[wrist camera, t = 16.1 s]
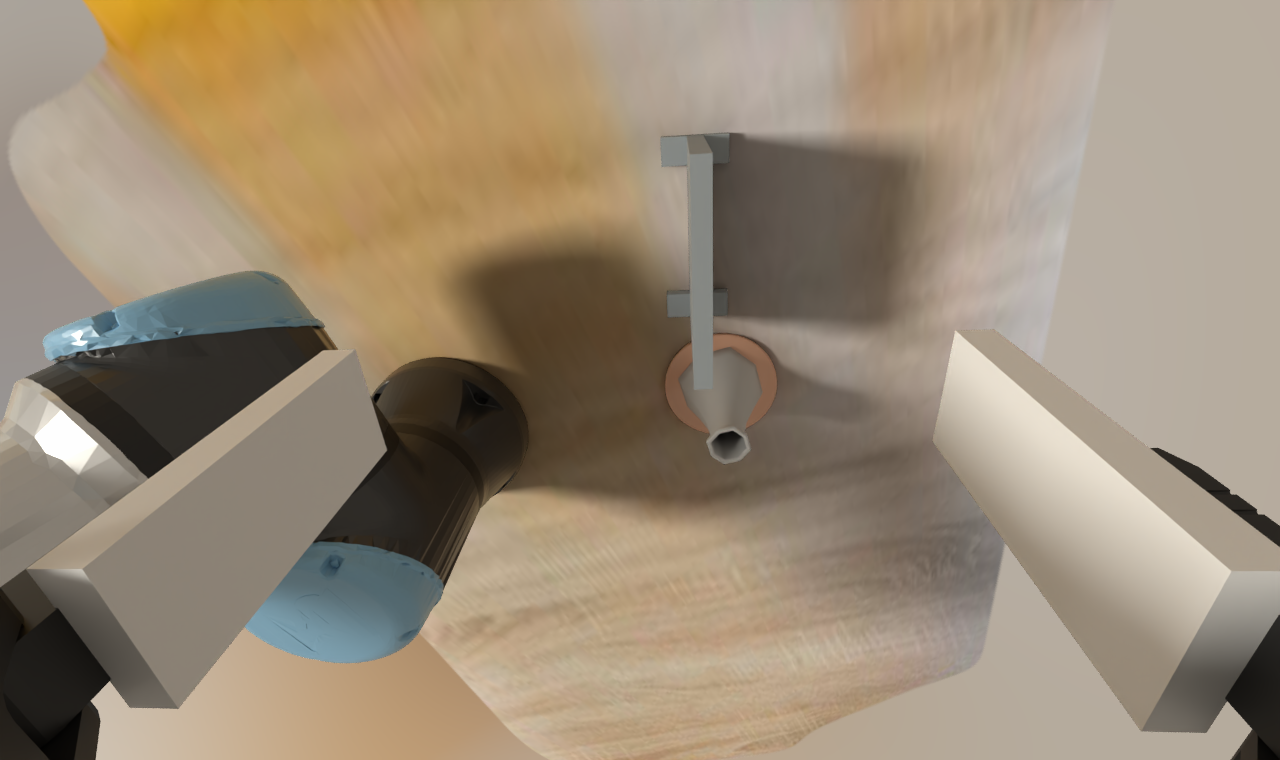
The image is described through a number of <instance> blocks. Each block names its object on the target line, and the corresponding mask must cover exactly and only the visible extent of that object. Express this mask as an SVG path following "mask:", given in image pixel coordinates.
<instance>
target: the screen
mask: <svg viewBox="0 0 1280 760" xmlns="http://www.w3.org/2000/svg"><path fill="white" fill-rule="evenodd" d="M729 136H730V134H729V133H714V134H697V135H681V136H664V137H661V161H662V167H665V166H683V165H687V187H688V235H689V283H690V290H679V291H667V312H668V317H690V320H691V340H692V359H693V379H694V390H699V389H713V316H724V315H728V291H727V289H713V164H719V163H729Z"/></svg>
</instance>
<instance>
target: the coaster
mask: <svg viewBox="0 0 1280 760" xmlns="http://www.w3.org/2000/svg"><path fill="white" fill-rule="evenodd" d="M727 347H731V348H732V349H734V350H735V351H737V352H738V353H740V354H741V355H742V356H744V357H745V358H747V359H748V360H750V361H751V362H753V363H754V364H755V365H756V368H757V372H758V376H759V380H760V384H761V388H762V391H763V393H762V395H761V397H760V398H759V400H758V402H757V404H756V405H755V407H754V409H753V411H752V413H751V415H750V417H749V419H748V421H747V423H746V428H748V427H749V426H751V425H753V424H754V423H756V422H757V421H759V420H760V419H761V418H762V417H763V416H764V415H765V414H766V412H767V411H768V410H769V408H770V407H771V405H772V403H773V401H774V399H775V395H776V391H777V376H776V372H775V369H774V366H773V363H772V361H771V359H770V357H769V356H768V355H767V353H766V352H765V351H764V350H763V349H762V348H761V347H760V346H759V345H758V344H756V343H755V342H753V341H751V340H750V339H747V338H745V337H743V336H739V335H736V334H729V333H717V334H713V351H716V350H719V349H723V348H727ZM692 362H693V359H692V341H691V342H690V343H688V344H687V345H685V346H684V347H683V348H682V349H681V350H680V351H679V352H678V353H677V354H676V355H675V357H674V358H673V359H672V361H671V363H670V365H669V367H668V370H667V374H666V380H665V391H666V397H667V401H668V403H669V405H670V407H671V409H672V411H673V412H674V413H675V415H676V416H677V417H678V418H679V419H680V420H681V421H682V422H684V423H685V424H687V425H688V426H690V427H692V428H693V429H696V430H698V431H702V432H705V433H709V430H708V429H707V427H706V426H705V425H704V424H703V423H702V421H701V420H700V419H699V418H698V417H697V416H696V415H695V414H694V413H693V412H692V411H691V410H690V409H689V407H688V406H687V404H686V401H685V398H684V395H683V392H682V389H681V386H680V383H679V380H678V378H679V377H680V376H681V375H682V373H683V372H684V371H685V370H686V369H687V367H688V366H689V365H690V364H691V363H692Z"/></svg>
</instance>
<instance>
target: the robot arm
mask: <svg viewBox="0 0 1280 760" xmlns="http://www.w3.org/2000/svg"><path fill="white" fill-rule="evenodd" d="M324 327H325V326H324V324H323V323H322V322H321V321H320V320H318V319H315V318H314V316H313V315H312V314H311V313H310V311H309V310H308V309H307V308H306V306H305V305H304V304H303V302H302V301H301V300H300V299H299V297H298V296H297V295H296V293H295V292H294V291H293V290H292V288H291V287H290V286H289V285H288V284H287V283H286V282H285V281H284V280H283V279H281V278H280V277H278V276H276V275H274V274H271V273H267V272H263V271H245V272H238V273H233V274H229V275H224V276H220V277H216V278H212V279H208V280H204V281H200V282H196V283H193V284H189V285H185V286H182V287H178V288H175V289H171V290H168V291H165V292H161V293H158V294H155V295H152V296H148V297H145V298H142V299H139V300H136V301H133V302H130V303H127V304H124V305H121V306H118V307H117V308H115V309H114V310H110V311H105V312H102V313H100V314H97V315H95V316H91V317H87V318H84V319H80V320H77V321H75V322H72V323H70V324H67V325H65V326H63V327H60V328H58V329H56V330H54V331H52V332H50V333H49V334H48V335H46V336H45V338H44V340H43V345H44V348H45V356H46V357H47V358H48V359H49V360H50V361H52V360H53V361H54V362H57V363H56V364H54V365H52V366H50V367H48V368H46V369H43V370H41V371H39V372H37V373H34V374H32V375H30V376H28V377H26V378H23V379H21V380H19V381H17V382H15V384H14V387H13V391H12V394H11V397H10V400H9V404H8V407H7V410H6V414H5V417H4V418H3V420H2V421H1V422H0V760H95V759H96V751H97V744H98V735H99V728H100V718H99V713H98V710H97V709H96V707H95V706H94V705H93V704H92V702H91V700H92V698H94V697H95V696H96V694H97V693H98V692H99V691H100V690H101V689H102V688H103V687H104V686H105V685H106V684H107V683H108V682H109V681H110V682H111V683H112V684H113V686H114V687H115V688H116V690H117V691H118V692H119V694H120V695H121V696H122V698H123V699H124V700H125V702H126V703H127V704H128V706H129V707H131V708H173V709H178V708H179V707H180V706H181V705H182V704H183V702H184V701H185V700H186V699H187V697H188V696H189V695H190V693H191V692H192V691H193V690H194V689H195V687H196V686H197V685H198V684H199V682H200V681H201V680H202V679H203V677H204V676H205V675H206V674H207V673H208V671H209V670H210V669H211V668H212V666H213V665H214V664H215V663H216V661H217V660H218V659H219V658H220V656H221V655H222V654H223V653H224V651H225V650H226V649H227V648H228V647H229V645H230V644H231V643H232V642H233V640H234V639H235V638H236V637H237V635H238V634H239V633H240V632H241V630H242V629H243V628H244V627H245V628H246V629H247V630H249V631H250V632H251V633H252V634H254V635H255V636H256V637H258V638H260V639H261V640H263V641H264V642H266V643H268V644H270V645H272V646H274V647H276V648H278V649H281V650H283V651H286V652H288V653H291V654H294V655H297V656H301V657H304V658H309V659H316V660H320V661H325V662H333V663H357V662H366V661H372V660H376V659H380V658H383V657H386V656H388V655H391V654H393V653H395V652H397V651H399V650H400V649H402V648H403V647H405V646H406V645H408V644H409V643H410V642H411V641H412V640H413V639H414V638H415V637H416V636H417V634H418V633H419V632H420V630H421V628H422V626H423V625H424V623H425V621H426V619H427V618H428V616H429V614H430V612H431V610H432V609H433V607H434V606H435V605H436V604H437V603H438V602H439V600H440V599H441V596H442V593H443V590H444V588H445V585H446V583H447V581H448V579H449V576H450V574H451V572H452V570H453V567H454V565H455V563H456V561H457V559H458V556H459V554H460V552H461V550H462V547H463V545H464V543H465V541H466V539H467V536H468V534H469V532H470V530H471V527H472V525H473V523H474V521H475V518H476V516H477V514H478V512H479V510H480V508H481V507H482V506H483V505H484V504H485V503H486V502H487V501H488V500H489V499H490V498H491V497H492V496H494V495H496V494H497V493H499V492H500V491H501V490H503V489H504V488H505V487H506V486H507V485H508V484H509V483H510V482H511V481H512V479H513V478H514V477H515V475H516V474H517V472H518V470H519V468H520V466H521V463H522V461H523V459H524V456H525V454H526V451H527V446H528V426H527V422H526V418H525V415H524V413H523V411H522V408H521V406H520V405H519V403H518V401H517V400H516V398H515V397H514V396H513V394H512V393H511V392H510V391H509V390H508V389H507V388H506V387H505V386H504V385H503V384H502V383H501V382H500V381H499V380H498V379H496V378H495V377H494V376H492V375H491V374H489V373H488V372H486V371H484V370H482V369H480V368H478V367H476V366H474V365H471V364H469V363H466V362H462V361H459V360H454V359H448V358H426V359H421V360H416V361H413V362H410V363H408V364H405V365H403V366H401V367H400V368H398V369H397V370H395V371H394V372H393V373H392V374H391V375H389V376H388V377H387V378H386V379H385V380H384V381H383V382H382V383H381V384H380V386H379V387H378V388H377V389H376V390H375V392H374V393H373V395H372V396H370V394H369V391H368V388H367V385H366V382H365V379H364V375H363V372H362V369H361V366H360V363H359V360H358V356H357V353H356V350H355V349H352V350H338V349H337V347H336V346H335V344H334V343H333V341H332V340H331V339H330V337H329V336H328V334H327V333H326V331H325V330H324ZM932 442H933V443H934V444H935V446H936V447H937V449H938V450H939V451H940V453H941V454H942V455H943V457H944V458H945V460H946V461H947V462H948V464H949V465H950V467H951V468H952V469H953V471H954V472H955V474H956V475H957V476H958V478H959V479H960V480H961V482H962V483H963V485H964V486H965V487H966V489H967V490H968V492H969V493H970V494H971V496H972V497H973V499H974V500H975V501H976V503H977V504H978V505H979V507H980V508H981V510H982V511H983V512H984V514H985V515H986V517H987V518H988V519H989V521H990V522H991V523H992V525H993V526H994V528H995V529H996V530H997V532H998V533H999V535H1000V536H1001V537H1002V539H1003V540H1004V542H1005V543H1006V544H1007V546H1008V547H1009V548H1010V550H1011V551H1012V553H1013V554H1014V555H1015V557H1016V558H1017V560H1018V561H1019V562H1020V564H1021V565H1022V566H1023V568H1024V569H1025V570H1026V572H1027V573H1028V575H1029V576H1030V577H1031V579H1032V580H1033V581H1034V583H1035V585H1036V586H1037V587H1038V589H1039V590H1040V592H1041V593H1042V594H1043V596H1044V597H1045V598H1046V600H1047V601H1048V603H1049V604H1050V605H1051V607H1052V608H1053V610H1054V611H1055V612H1056V614H1057V615H1058V616H1059V618H1060V619H1061V620H1062V622H1063V623H1064V625H1065V626H1066V628H1067V629H1068V630H1069V632H1070V633H1071V635H1072V636H1073V637H1074V639H1075V640H1076V641H1077V643H1078V644H1079V645H1080V647H1081V648H1082V650H1083V651H1084V653H1085V654H1086V655H1087V657H1088V658H1089V660H1090V661H1091V662H1092V664H1093V665H1094V666H1095V668H1096V669H1097V670H1098V672H1099V673H1100V675H1101V676H1102V678H1103V679H1104V680H1105V682H1106V683H1107V684H1108V686H1109V687H1110V689H1111V690H1112V691H1113V693H1114V694H1115V696H1116V697H1117V698H1118V700H1119V701H1120V703H1121V704H1122V705H1123V707H1124V708H1125V709H1126V711H1127V712H1128V714H1129V715H1130V716H1131V718H1132V719H1133V721H1134V722H1135V723H1136V725H1137V726H1138V728H1139V729H1140V730H1141V731H1153V732H1196V733H1197V732H1198V733H1206V732H1207V731H1208V729H1209V728H1210V726H1211V725H1212V723H1213V722H1214V720H1215V718H1216V717H1217V716H1218V714H1219V712H1220V711H1221V709H1222V708H1223V706H1224V705H1225V703H1226V702H1227V701H1228V702H1229V703H1230V705H1231V706H1232V707H1233V708H1234V709H1235V710H1236V711H1237V712H1238V713H1239V714H1240V715H1241V717H1242V718H1243V719H1244V720H1245V721H1246V722H1247V724H1248V725H1250V727H1251V728H1252V731H1251V732H1250V734H1249V735H1248V736H1247V738H1246V739H1245V741H1244V742H1243V743H1242V745H1241V746H1240V748H1239V749H1238V750H1237V752H1236V753H1235V755H1234V756H1233V758H1232V759H1231V760H1280V526H1279V525H1278V524H1276V523H1275V522H1274V521H1272V520H1271V519H1269V518H1268V517H1267V516H1265V515H1258V514H1257V509H1256V508H1254V507H1253V506H1252V505H1250V504H1249V503H1247V502H1246V501H1245V500H1243V499H1242V498H1240V497H1239V496H1238V495H1231V494H1230V490H1229V489H1228V488H1227V487H1225V486H1224V485H1222V484H1221V483H1220V482H1218V481H1217V480H1216V479H1214V478H1213V477H1212V476H1210V475H1209V474H1207V473H1206V472H1205V471H1203V470H1202V469H1201V468H1199V467H1197V466H1195V465H1193V464H1191V463H1189V462H1187V461H1185V460H1182V459H1180V458H1178V457H1176V456H1174V455H1172V454H1170V453H1168V452H1166V451H1164V450H1161V449H1159V448H1149V447H1148V446H1146V445H1145V444H1144V443H1142V442H1141V441H1140V440H1138V439H1137V438H1136V437H1134V436H1133V435H1132V434H1131V433H1129V432H1128V431H1126V430H1125V429H1124V428H1123V427H1121V426H1120V425H1119V424H1117V423H1116V422H1115V421H1113V420H1112V419H1111V418H1110V417H1108V416H1107V415H1106V414H1104V413H1103V412H1102V411H1100V410H1099V409H1098V408H1096V407H1095V406H1094V405H1092V404H1091V403H1090V402H1089V401H1087V400H1086V399H1085V398H1083V397H1082V396H1081V395H1079V394H1078V393H1077V392H1075V391H1074V390H1073V389H1071V388H1070V387H1069V386H1068V385H1066V384H1065V383H1064V382H1062V381H1061V380H1060V379H1058V378H1057V377H1056V376H1054V375H1053V374H1052V373H1050V372H1049V371H1048V370H1046V369H1045V368H1044V367H1043V366H1041V365H1040V364H1039V363H1037V362H1036V361H1035V360H1033V359H1032V358H1031V357H1029V356H1028V355H1027V354H1026V353H1024V352H1023V351H1022V350H1020V349H1019V348H1018V347H1016V346H1015V345H1014V344H1012V343H1011V342H1010V341H1008V340H1007V339H1006V338H1005V337H1003V336H1002V335H1001V334H999V333H998V332H997V331H995V330H994V329H990V330H958V331H955V335H954V340H953V345H952V350H951V355H950V359H949V364H948V369H947V374H946V379H945V383H944V388H943V393H942V398H941V402H940V407H939V412H938V417H937V422H936V426H935V431H934V436H933V441H932Z"/></svg>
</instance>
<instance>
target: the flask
mask: <svg viewBox="0 0 1280 760" xmlns="http://www.w3.org/2000/svg"><path fill="white" fill-rule="evenodd" d="M678 380H679V383H680V386H681V389H682V392H683V395H684V398H685V401H686V404H687V406H688V407H689V409H690V410H691V411H692V412H693V413H694V414H695V415H696V416H697V417H698V418H699V419H700V420H701V421H702V423H703V424H704V425H705V426H706V427H707V429H708V430H709V433H710V436H709V438H708V439H707V440H706V443H707V446H708V449H709V452H710V455H711V457H713V458H714V459H716V460H718V461H719V462H721V463H722V464H724V465H725V464H729V463H734V462H738V461H741V460H742V459H743V458H744V457H745V456H746V455H747V454H748V453H749V452H750V451H751V445H750V442H749V438H748V435H747V433H746V432H745V430H746V423H747V421H748V419H749V417H750V415H751V413H752V411H753V409H754V407H755V405H756V404H757V402H758V400H759V398H760V397H761V395H762V393H763V391H762V388H761V384H760V380H759V376H758V372H757V368H756V365H755V364H754V363H753V362H751V361H750V360H748V359H747V358H745V357H744V356H742V355H741V354H740V353H738V352H737V351H735V350H734V349H732V348H731V347H727V348H723V349H719V350H716V351H713V389H699V390H694V379H693V362H692V363H691V364H690V365H689V366H688V367H687V369H686V370H685V371H684V372H683V373H682V375H681V376H680V377H679V378H678Z"/></svg>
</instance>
